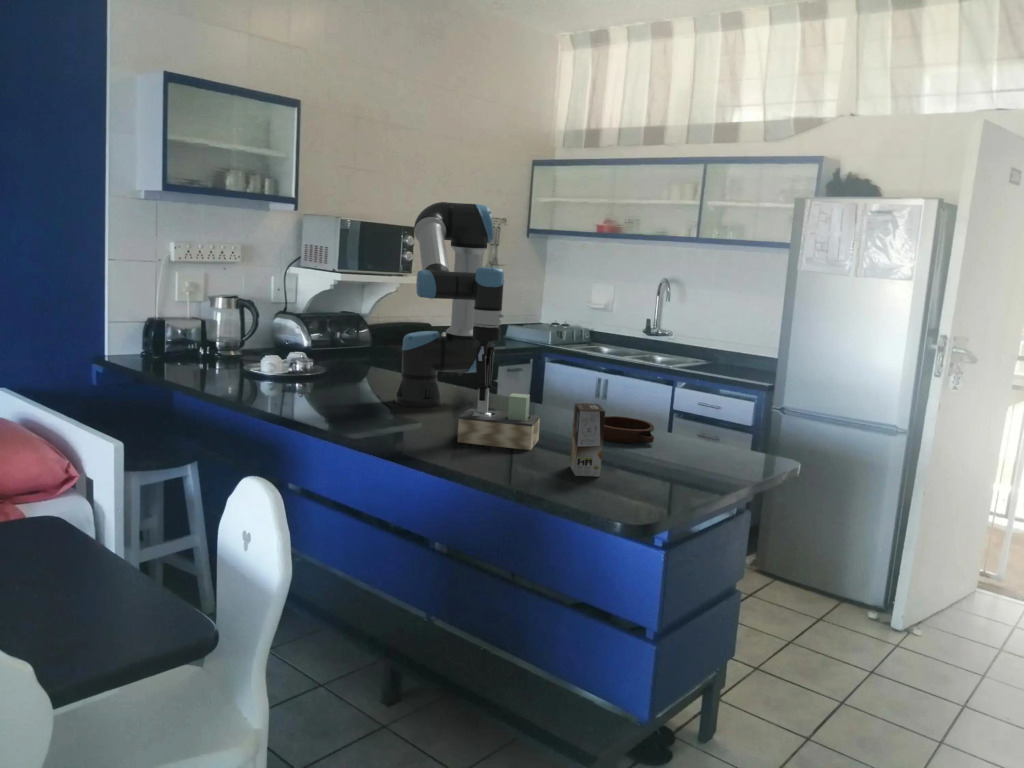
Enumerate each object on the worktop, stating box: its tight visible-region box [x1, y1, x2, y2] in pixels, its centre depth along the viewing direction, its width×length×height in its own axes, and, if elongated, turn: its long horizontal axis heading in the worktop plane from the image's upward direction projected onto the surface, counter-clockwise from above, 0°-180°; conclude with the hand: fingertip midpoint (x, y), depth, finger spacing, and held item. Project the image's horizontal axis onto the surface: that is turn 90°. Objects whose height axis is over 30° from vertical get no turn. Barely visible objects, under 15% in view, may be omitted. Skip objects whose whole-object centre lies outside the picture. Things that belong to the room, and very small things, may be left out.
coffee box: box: [569, 402, 606, 478], centre depth 200 cm, size 9×6×16 cm
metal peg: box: [473, 411, 492, 417], centre depth 226 cm, size 5×5×7 cm
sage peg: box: [507, 392, 531, 421], centre depth 224 cm, size 5×5×7 cm
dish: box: [603, 415, 655, 444], centre depth 238 cm, size 18×22×5 cm
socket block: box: [457, 407, 541, 451], centre depth 226 cm, size 20×12×7 cm, turn 78°
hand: (482, 411), depth 226 cm, fingers closed
